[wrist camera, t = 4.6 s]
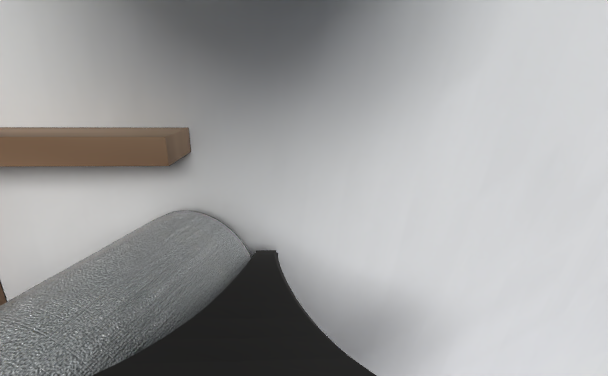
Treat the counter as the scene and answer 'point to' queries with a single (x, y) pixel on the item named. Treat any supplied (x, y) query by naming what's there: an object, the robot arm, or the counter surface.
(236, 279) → the robot arm
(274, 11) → the counter surface
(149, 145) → the walnut caddy
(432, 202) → the counter surface
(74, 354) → the brushed metal tube
